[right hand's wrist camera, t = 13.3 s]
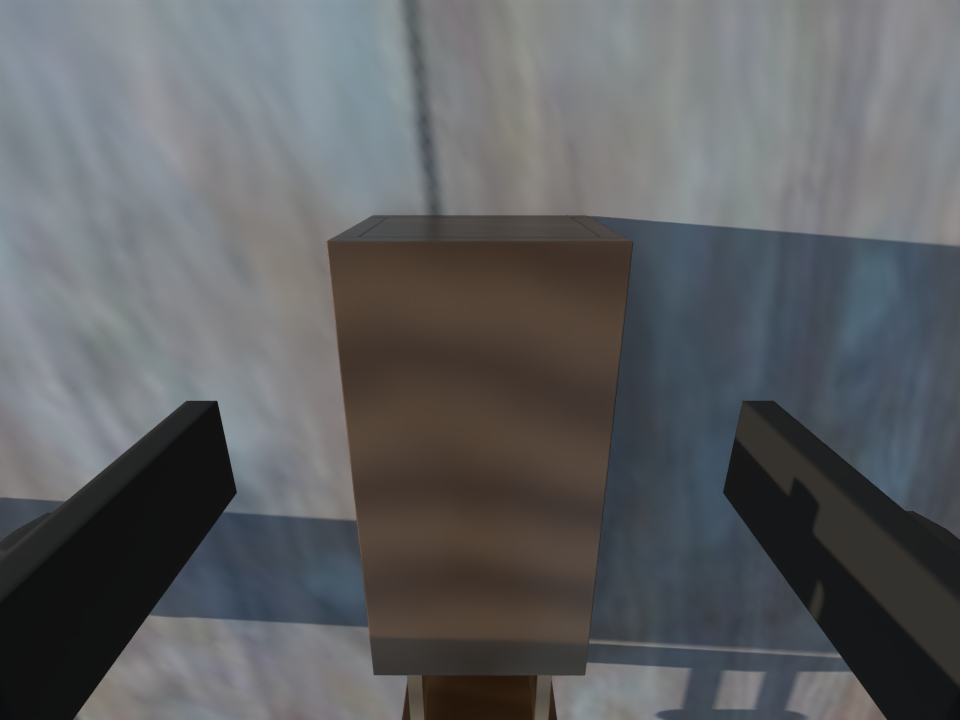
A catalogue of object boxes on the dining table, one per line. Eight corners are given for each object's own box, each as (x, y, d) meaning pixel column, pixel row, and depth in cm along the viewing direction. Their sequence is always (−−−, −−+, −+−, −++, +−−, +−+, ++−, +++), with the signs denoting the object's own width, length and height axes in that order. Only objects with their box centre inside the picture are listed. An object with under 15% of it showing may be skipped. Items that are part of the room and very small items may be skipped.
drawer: (543, 723, 38) (554, 825, 32) (415, 723, 38) (404, 825, 32) (565, 405, 28) (587, 470, 22) (393, 405, 28) (371, 470, 22)
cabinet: (561, 557, 33) (585, 676, 26) (397, 557, 33) (373, 675, 26) (587, 215, 25) (633, 241, 18) (372, 215, 25) (325, 241, 18)
